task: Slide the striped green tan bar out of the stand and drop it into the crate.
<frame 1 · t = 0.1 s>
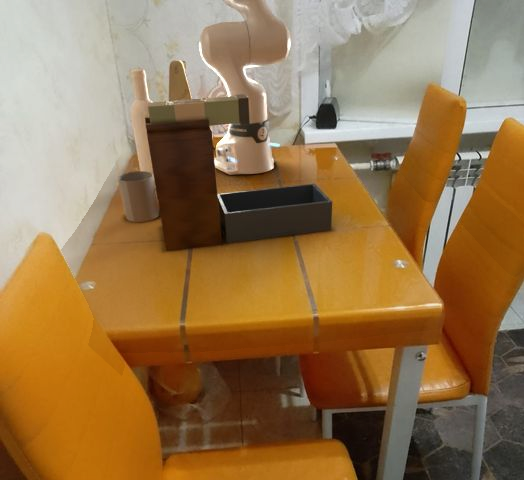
cup: (143, 216, 126), on the table
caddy: (195, 154, 172), on the table
crate: (273, 225, 117), on the table
stand: (191, 235, 115), on the table
bottle: (156, 185, 146), on the table
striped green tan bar: (200, 124, 101), point 24 cm above the table, touching stand
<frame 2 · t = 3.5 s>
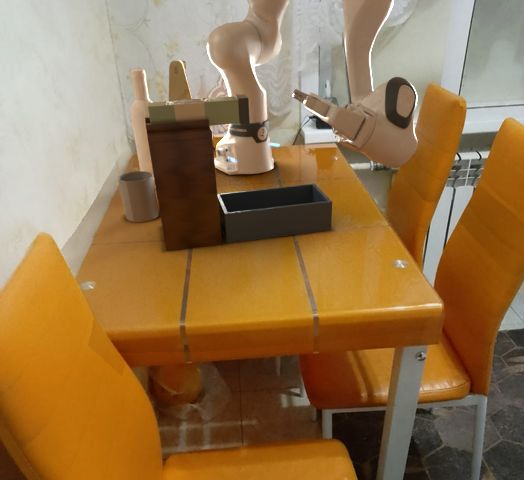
hand: (299, 96, 102), 28 cm above the table, tool pointing upward, fingers open, 8 cm apart
nothing on the table moved.
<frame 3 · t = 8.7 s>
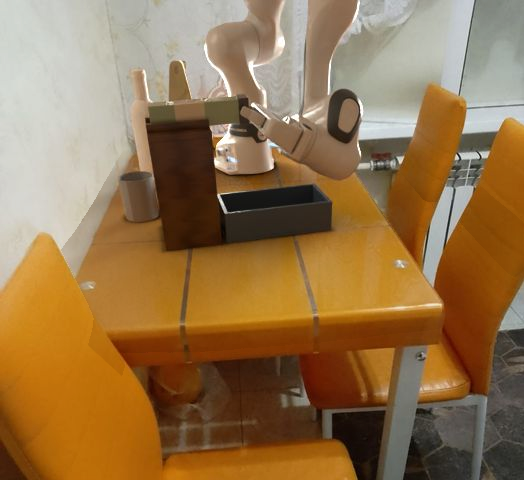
hand: (238, 106, 101), 26 cm above the table, tool pointing upward, fingers closed on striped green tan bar, 5 cm apart
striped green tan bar: (200, 124, 101), point 24 cm above the table, touching gripper, stand
everything else where it was.
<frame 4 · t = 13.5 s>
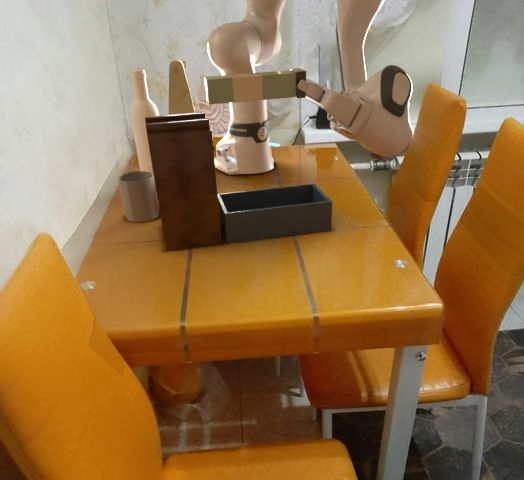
hand: (294, 80, 100), 30 cm above the table, tool pointing upward, fingers closed on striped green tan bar, 5 cm apart
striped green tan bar: (255, 98, 101), point 28 cm above the table, touching gripper
everything else where it was.
when the fingers open (16 cm above the table, at t = 18.6 s): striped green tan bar drops 12 cm, resting on crate.
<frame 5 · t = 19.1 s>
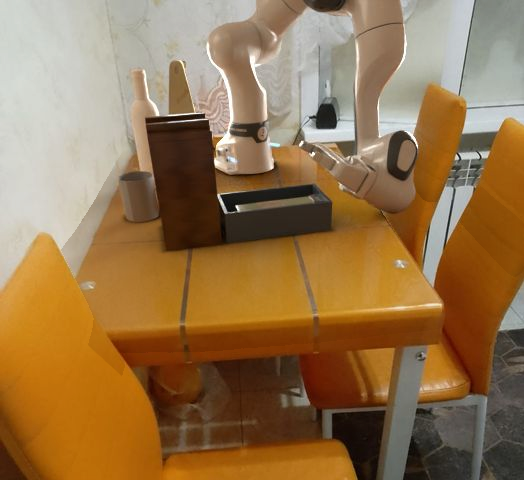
hand: (306, 148, 109), 17 cm above the table, tool pointing upward, fingers open, 8 cm apart
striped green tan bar: (279, 221, 117), point 1 cm above the table, touching crate
everything else where it was.
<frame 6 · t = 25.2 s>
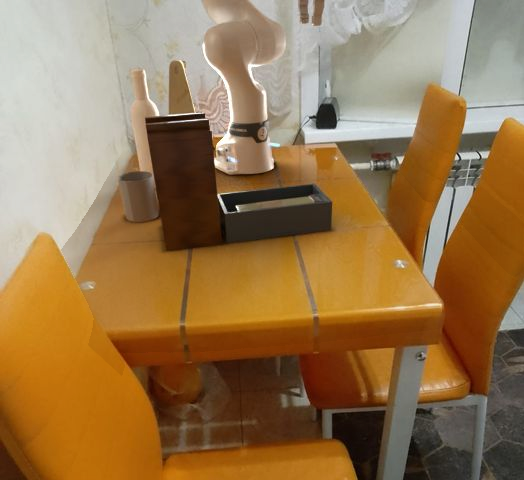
hand: (310, 24, 109), 39 cm above the table, tool pointing down, fingers open, 8 cm apart
nothing on the table moved.
at the end: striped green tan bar inside the target area in the crate (1.5 cm from its centre), point 0.9 cm above the crate's base; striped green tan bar touching crate; the gripper is holding nothing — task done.
